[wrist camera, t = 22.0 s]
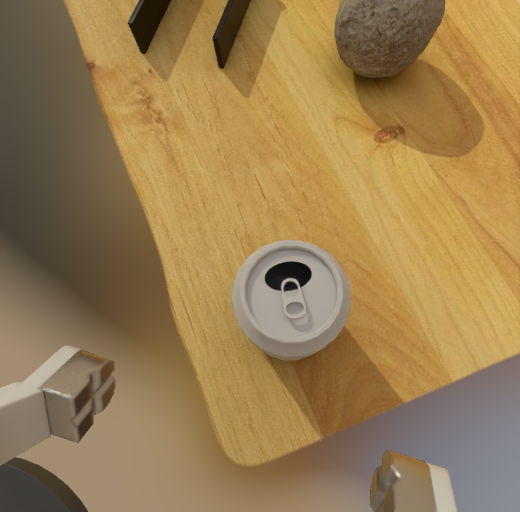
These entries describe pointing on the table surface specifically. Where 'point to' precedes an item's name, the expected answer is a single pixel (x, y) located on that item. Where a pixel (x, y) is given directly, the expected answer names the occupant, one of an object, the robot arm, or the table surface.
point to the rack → (153, 10)
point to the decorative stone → (385, 33)
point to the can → (291, 299)
